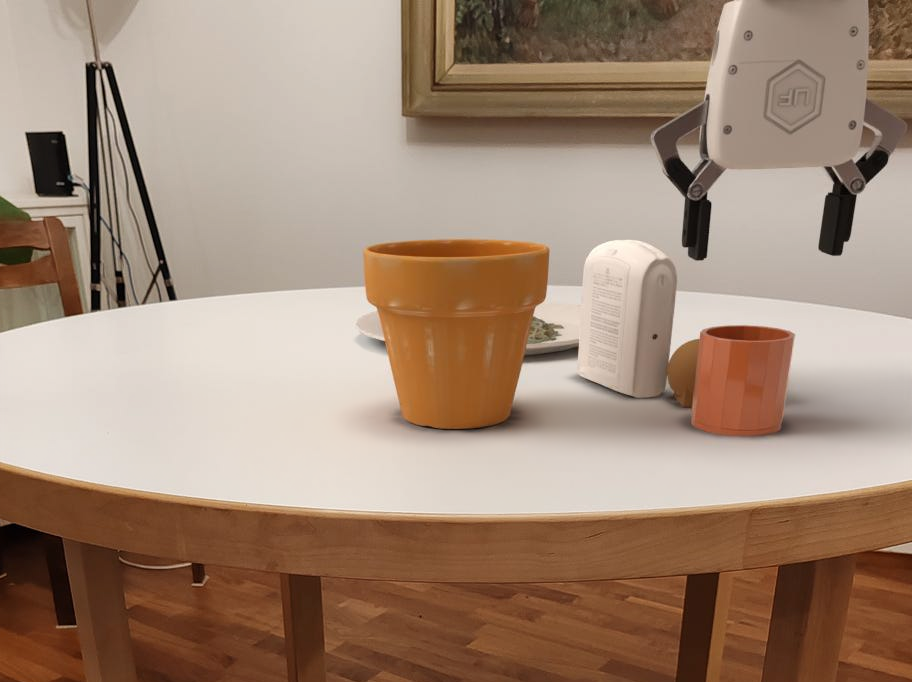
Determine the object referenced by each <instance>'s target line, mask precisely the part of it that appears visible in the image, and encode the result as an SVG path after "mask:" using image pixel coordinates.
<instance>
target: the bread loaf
mask: <svg viewBox="0 0 912 682" xmlns="http://www.w3.org/2000/svg"><path fill="white" fill-rule="evenodd" d="M699 340H700V338H695V339H691V340H689V341H687V342H684V343H683V344H682V345H680V346H678V347H677V348H676V350H675V351H674V352H673V353H672V355H671V357H670V358H669V364H668V368H667V382H668V385H669V387H670V388H671V390H672V391H673V395H672V397H673V398H674V399H675V400H676V401H677V402H678V403H679V404H680V405H681V407H682V408H692V404H693V395H694V386H695V377H696V367H697V358H698V349H699Z"/></svg>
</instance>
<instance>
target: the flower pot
mask: <svg viewBox="0 0 912 682" xmlns="http://www.w3.org/2000/svg"><path fill="white" fill-rule="evenodd" d="M550 252H551V251H550V248H549V246H547V245H545V244H543V243H537V242H529V241H521V240H509V239H508V240H507V239H487V238H486V239H485V238H483V239H482V238H439V239H437V238H436V239H415V240H400V241H391V242H383V243H376V244H373V245H370V246H367V247H365V248H363V255H362V256H363V271H364V272H363V273H364V285H365V286H364V288H365V296H366V300H367V302H368V303H369V304H370V305H372V306H374V307H375V308H376V311H378V314H379V318H380V322H381V326H382V330H383V334H384V339H385V341H384V342H385V347H386V352H387V356H388V361H389V365H390V370H391V373H392V378H393V382H394V386H395V390H396V391H395V392H396V395H397V399H398V403H399V407H400V411H401V415H402V417H403V419H404V420H405V421H407V422H408V423H410V424H413V425H417V426H422V427H426V426H427V427H431V428H434V429H444V430H445V429H446V430H447V429H448V430H450V429H451V430H464V429H477V428H483V427H484V428H485V427H488V426H489V427H490V426H494V425H498V424H500V423H502V422H504V421H507V419H508V418H509V417H510V415H511V411H512V408H513V403H514V399H515V396H516V395H515V394H516V390H517V387H518V383H519V379H520V376H521V371H522V367H523V364H524V363H523V362H524V358H525V355H524V354H525V350H526V345H527V340H528V336H529V331H530V327H531V322H532V318H533V315H534V311H535V308H536V306H538V305H539V304H541V303H542V302H543V301H545V300H546V298H547V293H548V283H549V266H550Z"/></svg>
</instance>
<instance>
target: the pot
mask: <svg viewBox="0 0 912 682" xmlns="http://www.w3.org/2000/svg"><path fill="white" fill-rule="evenodd" d="M699 339H700V340H699V349H698V358H697V367H696V377H695V386H694V395H693V404H692V407H691V414H690V417H691V419H690V421H691V423H690V424H691V425H692V426H693V427H694V428H695V429H698V430H701V431H703V432H707V433H712V434H714V435H715V434H716V435H721V436H722V435H723V436H728V437H729V436H730V437H731V436H732V437H758V436H759V437H760V436H766V435H772V434H775V433H778V432H779V431H781V429H782V423H783V419H784V413H785V407H786V401H787V393H788V389H789V387H788V386H789V380H790V374H791V367H792V361H793V353H794V347H795V341H796V334H795V333H794V332H792V331H790V330H787V329H783V328H779V327H771V326H764V325H763V326H762V325H746V324H740V325H739V324H737V325H736V324H735V325H729V324H727V325H718V326H711V327H707V328H703V329H702V330H701V331H700V332H699Z"/></svg>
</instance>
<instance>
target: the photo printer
mask: <svg viewBox="0 0 912 682" xmlns="http://www.w3.org/2000/svg"><path fill="white" fill-rule="evenodd" d="M582 276H583V277H582V290H581V291H582V292H581V304H580V305H581V321H580V336H579V346H578V352H577V353H578V354H577V373H578V375H579V376H580V377H582V378H584V379H587V380H588V381H590V382H594V383H596V384H598V385H601V386H603V387H606V388H609V389H611V390H613V391H616V392H619V393H620V394H624V395H627V396H630V397H632V398H635V399H648V398H655V397H658V396H660V395H661V394H662V393H663V392H665V390H666V386H667V382H668V377H667V368H668V364H669V361H670V355H671V354H670V353H671V345H672V334H673V326H674V317H675V307H676V296H677V286H678V271H677V268H676V265H675V264H674V262H673V260H672V259H671V258H670V257H669V256H668V255H667V254H666V253H664V252H663V251H662V250H660V249H659V248H657V247H656V246H654V245H652V244H650V243H648V242H644V241H641V240H636V239H615V240H609V241H606V242H603V243H601V244H598V245H597V246H595V247H594V248H593V249H592V250H591V251H590V252H589V254H588V255H587V257H586V259H585V262H584V265H583V273H582Z"/></svg>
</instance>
